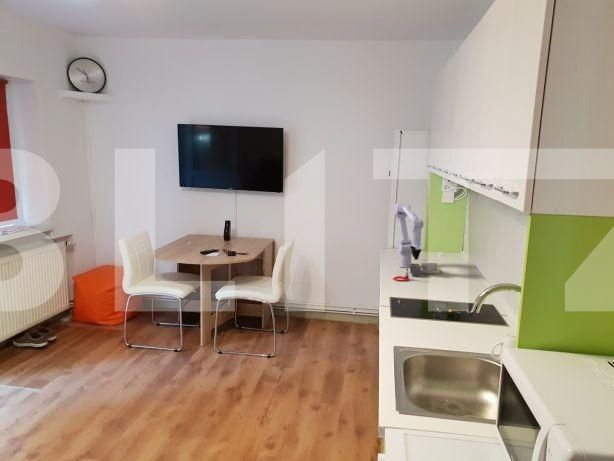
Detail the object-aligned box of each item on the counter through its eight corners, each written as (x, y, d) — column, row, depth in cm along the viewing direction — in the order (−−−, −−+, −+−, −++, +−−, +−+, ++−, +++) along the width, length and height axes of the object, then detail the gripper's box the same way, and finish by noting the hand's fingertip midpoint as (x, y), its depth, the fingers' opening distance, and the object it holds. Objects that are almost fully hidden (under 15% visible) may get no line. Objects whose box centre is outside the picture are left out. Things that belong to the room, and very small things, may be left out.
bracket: (410, 272, 283) (410, 263, 282) (418, 272, 283) (418, 263, 282) (412, 276, 274) (412, 267, 273) (420, 276, 274) (420, 267, 273)
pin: (421, 270, 279) (421, 263, 279) (430, 269, 288) (431, 263, 289) (427, 270, 276) (427, 263, 276) (437, 270, 285) (437, 263, 286)
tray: (411, 269, 292) (411, 266, 292) (438, 269, 291) (438, 266, 290) (413, 272, 283) (413, 270, 282) (441, 273, 281) (441, 270, 281)
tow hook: (394, 282, 264) (409, 281, 264) (394, 261, 262) (409, 261, 262) (392, 278, 273) (407, 277, 272) (392, 258, 270) (407, 257, 270)
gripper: (408, 235, 288) (407, 255, 291) (411, 239, 274) (410, 260, 277) (419, 235, 288) (418, 255, 290) (423, 240, 273) (421, 261, 276)
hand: (415, 258), depth 283 cm, fingers open, 7 cm apart
